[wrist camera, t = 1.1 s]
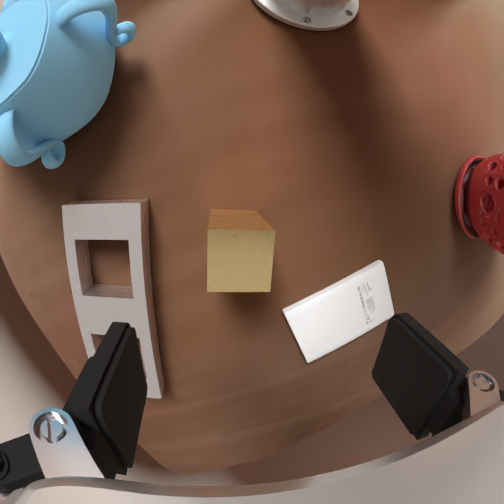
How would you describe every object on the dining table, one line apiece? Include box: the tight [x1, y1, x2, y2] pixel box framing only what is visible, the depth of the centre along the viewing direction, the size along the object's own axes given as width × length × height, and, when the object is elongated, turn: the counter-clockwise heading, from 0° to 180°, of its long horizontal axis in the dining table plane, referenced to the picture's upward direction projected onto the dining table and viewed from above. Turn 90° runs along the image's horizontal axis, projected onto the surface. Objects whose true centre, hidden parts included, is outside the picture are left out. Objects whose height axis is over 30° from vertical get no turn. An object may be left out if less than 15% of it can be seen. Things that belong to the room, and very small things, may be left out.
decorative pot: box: [0, 0, 136, 169], centre depth 13 cm, size 16×16×14 cm
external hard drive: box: [282, 260, 394, 363], centre depth 31 cm, size 2×8×12 cm
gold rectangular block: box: [207, 209, 275, 292], centre depth 22 cm, size 4×4×9 cm
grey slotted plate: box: [62, 199, 164, 399], centre depth 26 cm, size 22×8×3 cm, turn 177°
